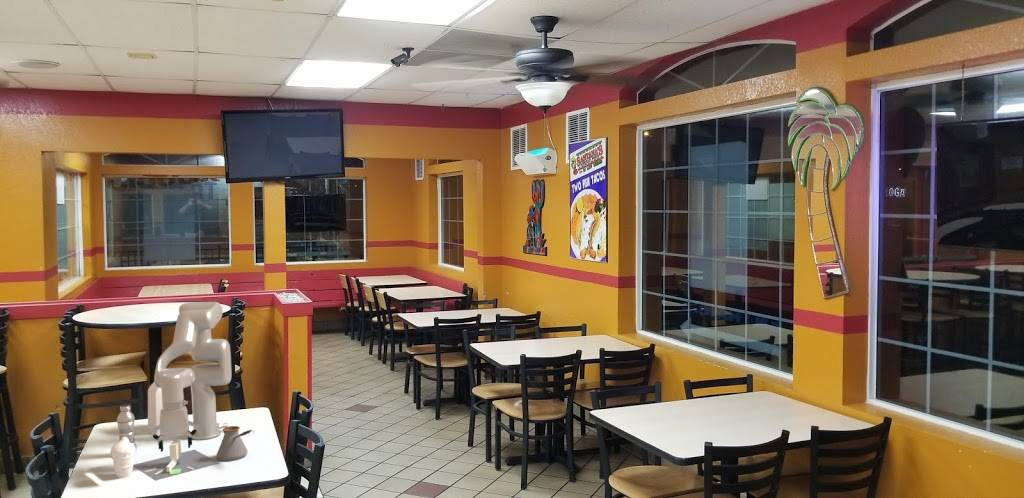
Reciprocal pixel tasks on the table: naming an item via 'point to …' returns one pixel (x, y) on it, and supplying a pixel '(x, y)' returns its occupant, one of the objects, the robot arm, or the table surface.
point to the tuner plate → (186, 464)
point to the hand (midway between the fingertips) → (175, 448)
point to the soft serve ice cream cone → (123, 457)
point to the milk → (154, 407)
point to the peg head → (174, 454)
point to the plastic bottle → (126, 424)
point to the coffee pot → (232, 444)
